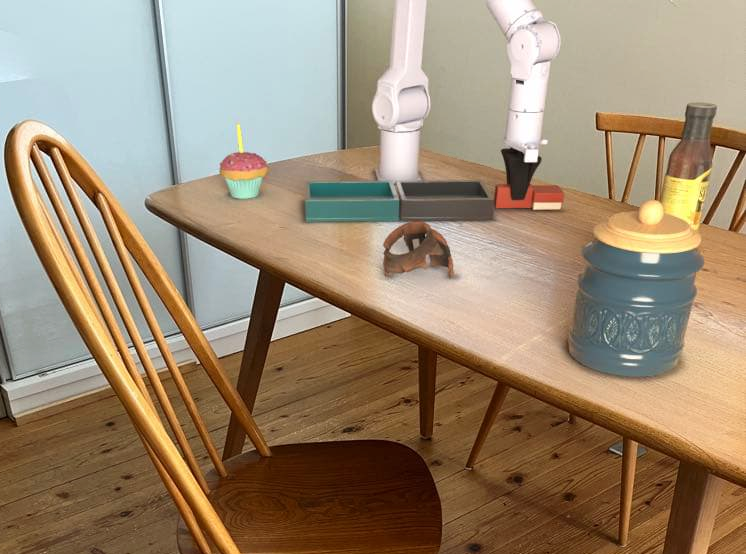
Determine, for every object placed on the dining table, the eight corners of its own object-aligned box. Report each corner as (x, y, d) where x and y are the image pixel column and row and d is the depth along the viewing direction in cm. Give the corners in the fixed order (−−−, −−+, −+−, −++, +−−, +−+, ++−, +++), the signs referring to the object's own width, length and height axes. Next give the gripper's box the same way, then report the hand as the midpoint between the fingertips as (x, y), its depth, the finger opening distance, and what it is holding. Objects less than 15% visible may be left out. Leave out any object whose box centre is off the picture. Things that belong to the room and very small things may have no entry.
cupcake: (214, 191, 161) (209, 118, 153) (259, 186, 163) (256, 114, 156) (230, 204, 154) (225, 129, 147) (277, 198, 157) (274, 124, 150)
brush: (492, 202, 154) (494, 181, 152) (555, 202, 155) (558, 181, 153) (496, 210, 151) (499, 189, 149) (562, 210, 151) (565, 189, 149)
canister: (596, 324, 113) (623, 177, 103) (697, 352, 107) (736, 198, 96) (545, 358, 105) (569, 202, 95) (651, 390, 98) (688, 226, 88)
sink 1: (305, 201, 156) (304, 181, 154) (392, 201, 156) (392, 180, 154) (305, 222, 147) (305, 200, 145) (398, 221, 147) (399, 199, 145)
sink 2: (394, 201, 156) (395, 180, 154) (480, 200, 157) (482, 179, 155) (400, 221, 147) (401, 199, 145) (492, 220, 148) (494, 199, 146)
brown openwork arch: (464, 288, 124) (444, 242, 118) (401, 316, 127) (378, 272, 121) (449, 238, 132) (429, 193, 126) (389, 266, 134) (367, 222, 128)
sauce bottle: (695, 255, 134) (730, 110, 122) (652, 252, 135) (682, 108, 123) (690, 242, 139) (723, 101, 127) (649, 239, 140) (677, 99, 128)
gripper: (562, 118, 138) (549, 209, 146) (541, 100, 150) (530, 185, 158) (516, 119, 138) (506, 209, 146) (499, 100, 149) (490, 185, 157)
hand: (516, 197), depth 152 cm, fingers closed on brush, 2 cm apart
